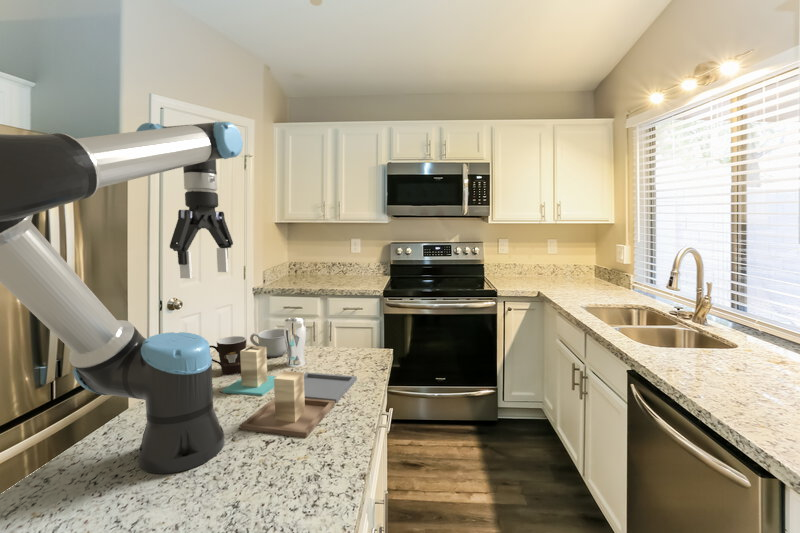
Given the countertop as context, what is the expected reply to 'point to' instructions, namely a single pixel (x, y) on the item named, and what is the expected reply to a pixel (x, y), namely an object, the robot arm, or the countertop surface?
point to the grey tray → (326, 386)
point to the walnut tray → (300, 428)
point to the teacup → (271, 341)
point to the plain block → (289, 396)
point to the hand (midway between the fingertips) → (205, 275)
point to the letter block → (253, 366)
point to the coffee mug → (230, 354)
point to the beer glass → (295, 341)
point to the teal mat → (250, 388)
